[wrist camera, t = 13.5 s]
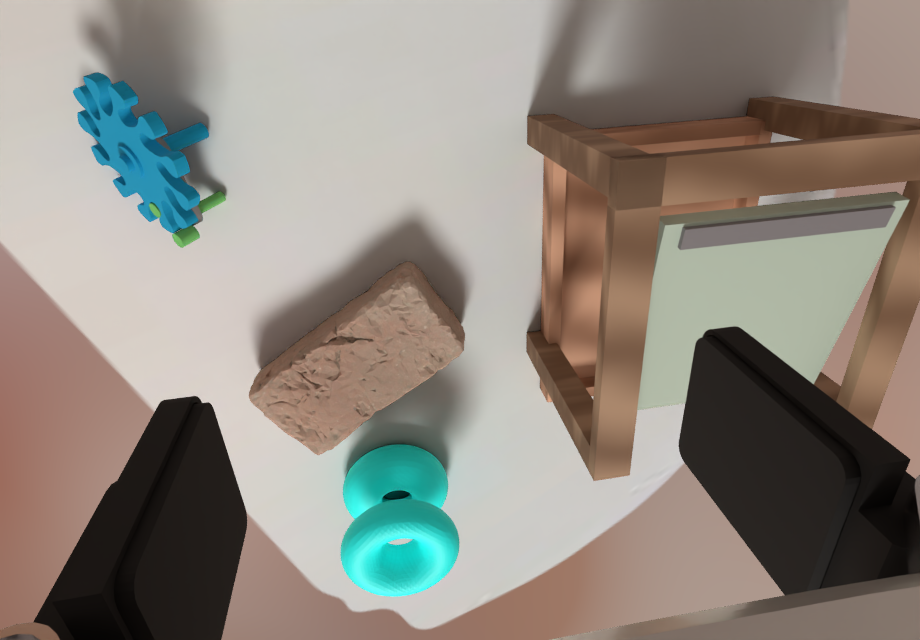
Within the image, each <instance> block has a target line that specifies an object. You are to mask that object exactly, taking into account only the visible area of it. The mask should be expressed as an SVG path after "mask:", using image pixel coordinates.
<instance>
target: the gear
mask: <svg viewBox="0 0 920 640" xmlns="http://www.w3.org/2000/svg"><path fill="white" fill-rule="evenodd" d="M84 82H85V84H86V85H84V86H81V87H78V88H75V89H74V91H73V93H74V95H75V97H76V99H77V100H78V101H79V103H80V104H81V105H82V106H83V107H84V108H85V109H86V110H84V111H81V112H78V122H79V124H80V126H81V127H82V128H83V129H84V130H85V131H86V132H88V133H89V134H91V135H92V136H93V137H94V138H95V139H96V140H97V141H98V142H99V144H97V145H94V146H92V147H91V148H92V151H93V153H94V156H95V158H96V160H97V161H98V162H99V163H100V164H101V165H108V166H111V167H112V168H114V169H115V170H116V171H117V172H119V173H120V174H121V175H122V176H121V177H119V178H116V179H114V180H113V182H114V184H115V186H116V188H117V189H118V190H119V192H120V193H121V195H122V196H123V197H128V196H130V195H132V194H134V193H136V192H137V193H138V194H139V195H140V196H141V197H142V199H143V201H144V202H143V203H141V204H139V205H138V210H139V211H140V213H141V214H142V215H143V216H144V217H145V218H146V219H147V220H148V221H149V222H151V221H153V220H155V219H157V218H159V220H160V223H161V225H162V227H163V228H165V229H166V230H167V231H169V232H171V233H174V234H173V235H172V236H173V239H174V241H175V242H176V244H177V245H178V246H180V247H182V248H183V247H184V246H186V245H188V244H190V243H191V242H193V241H195V240H197V239H198V238H200V235H199V233H198V231H197V229H196V228H195V227H194V225H196V224H198V223H199V222H201V221H202V220H203V217H202V214H201V213H203V212H205V211H207V210H209V209H211V208H212V207H214V206H216V205H218V204H220V203H222V202H224V201H225V200H226V198H225V195H224V194H223V193H222V192H220V191H219V192H217V193H215V194H213V195H211V196H209V197H208V198H206V199H204V200H202V201H200V195H199V193H198V192H197V191H196V190H195V189H194V188H193V187H191V186H190V185H188V184H187V182H186V180H185V178H184V176H183V175H185V174H187V173H189V172H190V168H189V165H188V162H187V159H186V157H185V155H184V154H183V153H182V152H180V151H179V150H181V149H183V148H185V147H188V146H190V145H192V144H194V143H197V142H199V141H201V140H203V139H205V138H208V137H209V133H208V130H207V128H206V127H205V126H204V125H203V124H202V123H198V124H195V125H193V126H191V127H188V128H186V129H183V130H181V131H179V132H176V133H174V134H172V135H169V136H167V137H165V138H162V137H161V136H163V135H165V134H167V133H168V131H167V129H166V127H165V125H164V123H163V121H162V120H161V118H160V117H159V115H158V114H157V112H155V111H153V112H150V113H147V114H145V115H142V116H140V117H139V118H138V120H137V119H136V117H135V116H134V115H133V113H132V110H131V106H134V105H136V104H138V97H137V95H136V94H135V92H134V91H133V90H132V89H131V88H130V87H129V86H128V85H127V84H126V83H125V82H124V81H121V82H118V83H115V84H112V83H111V81H110V80H109V78H108V77H107V76H105V75H103V74H101V73H98V72H97V73H93V74H90V75H87V76H84ZM179 230H180V231H179ZM177 231H178V232H177ZM175 232H176V233H175Z"/></svg>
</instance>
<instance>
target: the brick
mask: <svg viewBox="0 0 920 640" xmlns="http://www.w3.org/2000/svg"><path fill="white" fill-rule="evenodd" d="M454 315H455V314H454V312H453V310H452V309H450V308H449V307H448V306H447V305H445V304H444V302H443V301H442V299H441V298H440V297H438V295H437V293H435V292H434V290H433V288H432V286H431V285H430V284H429V283H428V280H427V278H426V276H425V275H424V274H423V273H422V272H421V271H420V270H419V269H418V267H417V266H416V265H415V264H413V263H411V262H405V263H403V264H399V265H398V266H397V267H396V268H395V269H393V270H391V271H389V272H388V273H386V274H385V275H384V276H383V277H382V278H380V279H379V280H378V281H377V282H376V283H375V284H374V285H372V287H371V288H370V289H369V291H367V292H365V293H364V294H362V295H360V296H358V297H356V298H355V299H353V300H351V301H350V302H349V303H348V304H347V305H346V306H345V307H344V308H343V309H342V310H341V311H339V312H337V313H335V314H333V315H331V316H330V317H329V318H328V319H327V320H326V321H324V322H323V323H321V324H320V325H319V326H318V327H317V328H316V329H315V330H313V331H311V332H309V333H308V334H307V335H305V336H304V337H303V338H301V339H300V341H298V342H296V343H295V344H294V345H293V346H291V347H290V348H289V349H287V350H286V351H285V352H283V353H282V354H281V355H280V356H279V357H278V358H276V359H275V360H274V361H273V362H271V363H269V364H268V365H266V367H265V368H263V369H262V370H261V371H260V372H259V373H258V375H257V376H256V378H255V379H254V381H253V382H254V383H253V385H252V386H251V390H250V392H249V399H250V401H251V402H252V403H253V404H254V405H255V406H256V407H257V408H258V409H260V410H261V411H262V412H263V413H264V415H265V416H266V417H267V418H269V419H270V420H271V421H272V422H274V423H275V424H276V425H277V426H278V427H279V428H281V429H282V430H283V431H284V432H285V433H287V434H288V435H290V436H291V437H293V438H295V439H297V440H298V441H299V442H301V443H302V444H303V445H305V446H306V447H308V448H309V449H310V450H311V451H312V452H314V453H315V454H317V455H320V454H322V453H324V452H326V451H327V450H331V449H333V448H334V447H335V446H337V445H338V444H339V443H340V442H341V441H343V440H344V439H345V438H347V437H348V436H349V435H350V434H351V433H352V432H353V431H355V430H356V429H357V428H358V427H359V426H360V425H361V424H362V423H363V422H365V421H367V420H368V419H369V418H371V417H372V415H373V414H374V413H375V412H376V411H378V410H382V409H383V408H385V407H386V406H388V405H390V404H391V403H393V402H394V401H396V400H398V399H399V398H401V397H402V396H403V395H405V394H406V393H407V392H409V391H411V390H412V389H414V388H415V387H417V386H418V385H420V384H421V383H423V382H424V381H426V380H427V379H429V378H430V377H432V376H433V375H434V374H435V373H436V372H437V371H438V370H441V369H443V368H444V367H446V366H447V365H448V364H449V363H450V362H451V361H452V360H453V359H455V358H457V357H458V356H459V355H460V354H461V353H462V351H463V350H464V340H465V333H464V330H463V327H462V326H461V324H460V323H459V321H458V319H457V318H456V317H455V316H454Z"/></svg>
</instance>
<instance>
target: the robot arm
mask: <svg viewBox="0 0 920 640" xmlns="http://www.w3.org/2000/svg"><path fill="white" fill-rule="evenodd" d="M679 451H680V454H681V457H682V459H683V461H684V462H685V464H686V465H687V466H688V468H689V469H690V470H691V472H692V473H693V474H694V475H695V477H696V478H697V480H698V481H699V482H700V483H701V484H702V486H703V487H704V489H705V490H706V491H707V493H708V494H709V495H710V497H711V498H712V499H713V501H714V502H715V503H716V505H717V506H718V507H719V509H720V510H721V511H722V513H723V514H724V515H725V516H726V518H727V519H728V521H729V522H730V523H731V524H732V526H733V527H734V528H735V530H736V531H737V532H738V534H739V535H740V536H741V538H742V539H743V540H744V541H745V543H746V544H747V546H748V547H749V548H750V549H751V551H752V552H753V554H754V555H755V556H756V558H757V559H758V560H759V562H760V563H761V564H762V566H763V567H764V568H765V570H766V571H767V572H768V573H769V575H770V576H771V577H772V579H773V580H774V581H775V583H776V584H777V585H778V587H779V588H780V589H781V591H782V592H783V593H784V595H785V596H779V597H774V598H769V599H763V600H758V601H752V602H747V603H742V604H737V605H731V606H725V607H720V608H715V609H709V610H704V611H699V612H693V613H688V614H682V615H677V616H672V617H666V618H662V619H656V620H651V621H646V622H640V623H635V624H630V625H625V626H619V627H614V628H609V629H604V630H598V631H593V632H588V633H583V634H578V635H572V636H567V637H561V638H557V639H551V640H920V475H919V476H918V477H917V478H916V479H915V478H913V477H912V476H911V475H910V474H908V473H907V472H906V469H907V467H908V464H909V462H910V459H909V458H908V457H907V456H906V455H904V454H903V453H902V452H900V451H899V450H898V449H896V448H895V447H894V446H893V445H891V444H890V443H889V442H887V441H886V440H884V439H883V438H882V437H881V436H880V435H878V434H877V433H876V432H875V431H873V430H872V429H871V428H869V427H868V426H867V425H865V424H864V423H863V422H862V421H860V420H859V419H858V418H856V417H855V416H854V415H853V414H851V413H850V412H849V411H847V410H846V409H845V408H844V407H842V406H841V405H840V404H838V403H837V402H836V401H835V400H833V399H832V398H831V397H829V396H828V395H827V394H825V393H824V392H823V391H822V390H820V389H819V388H818V387H816V386H815V385H814V384H813V383H811V382H810V381H809V380H807V379H806V378H805V377H804V376H802V375H801V374H800V373H798V372H797V371H796V370H794V369H793V368H792V367H791V366H789V365H788V364H787V363H785V362H784V361H783V360H782V359H780V358H779V357H778V356H776V355H775V354H774V353H773V352H771V351H770V350H769V349H767V348H766V347H765V346H763V345H762V344H761V343H760V342H758V341H757V340H756V339H754V338H753V337H752V336H751V335H749V334H748V333H747V332H745V331H744V330H743V329H741V328H740V327H738V326H732V327H725V328H717V329H709V330H707V331H705V333H704V334H703V337H702V338H699V339H698V340H697V341H696V344H695V349H694V355H693V361H692V367H691V373H690V379H689V385H688V391H687V397H686V403H685V409H684V415H683V421H682V427H681V433H680V439H679ZM246 528H247V514H246V509H245V506H244V503H243V500H242V497H241V493H240V490H239V487H238V484H237V481H236V478H235V475H234V471H233V468H232V465H231V462H230V459H229V456H228V453H227V450H226V446H225V443H224V440H223V437H222V434H221V431H220V428H219V425H218V421H217V418H216V415H215V412H214V409H213V407H212V405H211V404H210V403H202V402H201V400H200V399H199V398H198V397H197V396H192V397H185V398H177V399H169V400H163V401H161V403H160V404H159V405H158V407H157V409H156V411H155V413H154V414H153V416H152V418H151V420H150V422H149V424H148V426H147V427H146V429H145V431H144V433H143V435H142V436H141V438H140V440H139V442H138V444H137V446H136V447H135V449H134V451H133V453H132V455H131V457H130V459H129V460H128V462H127V464H126V466H125V468H124V470H123V471H122V473H121V475H120V477H119V479H118V481H116V482H115V483H113V484H111V486H110V487H109V488H108V490H107V491H106V493H105V494H104V496H103V498H102V500H101V501H100V503H99V505H98V507H97V509H96V511H95V512H94V514H93V516H92V518H91V519H90V521H89V523H88V525H87V527H86V529H85V530H84V532H83V534H82V536H81V537H80V539H79V541H78V543H77V545H76V547H75V548H74V550H73V552H72V554H71V555H70V557H69V559H68V561H67V563H66V565H65V566H64V568H63V570H62V572H61V574H60V575H59V577H58V579H57V581H56V582H55V584H54V586H53V588H52V590H51V591H50V593H49V595H48V597H47V599H46V600H45V602H44V604H43V606H42V608H41V609H40V611H39V613H38V615H37V617H36V618H35V620H34V622H33V623H23V624H16V625H13V626H10V627H7V628H4V629H1V630H0V640H221V638H222V634H223V629H224V625H225V621H226V616H227V612H228V607H229V603H230V599H231V595H232V590H233V586H234V582H235V577H236V573H237V569H238V564H239V559H240V555H241V551H242V547H243V542H244V538H245V534H246Z"/></svg>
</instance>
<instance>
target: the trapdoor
mask: <svg viewBox="0 0 920 640" xmlns="http://www.w3.org/2000/svg"><path fill="white" fill-rule="evenodd" d="M909 201H910V199H908V198H906V197H904V196H903V195H901V194H899V193H897V192H888V193H878V194H870V195H860V196H850V197H840V198H830V199H820V200H811V201H801V202H791V203H782V204H772V205H762V206H753V207H743V208H733V209H724V210H714V211H704V212H695V213H685V214H675V215H666V216H660V221H659V230H658V238H657V246H656V255H655V263H654V272H653V280H652V289H651V297H650V306H649V314H648V323H647V331H646V340H645V348H644V357H643V365H642V373H641V382H640V390H639V399H638V407H637V410H642V409H649V408H655V407H662V406H669V405H676V404H683V403H686V397H687V391H688V385H689V379H690V373H691V367H692V361H693V355H694V349H695V344H696V341H697V340H698V339H699V338H702V337H703V334H704V333H705V331H707V330H709V329H717V328H725V327H732V326H738V327H740V328H741V329H743V330H744V331H745V332H747V333H748V334H749V335H751V336H752V337H753V338H754V339H756V340H757V341H758V342H760V343H761V344H762V345H763V346H765V347H766V348H767V349H769V350H770V351H771V352H773V353H774V354H775V355H776V356H778V357H779V358H780V359H782V360H783V361H784V362H785V363H787V364H788V365H789V366H791V367H792V368H793V369H794V370H796V371H797V372H798V373H800V374H801V375H802V376H804V377H805V378H806V379H807V380H809V381H810V382H811V383H813V384H814V383H815V381H816V379H817V377H818V375H819V373H820V371H821V369H822V367H823V365H824V364H825V361H826V360H827V358H828V356H829V354H830V352H831V350H832V348H833V346H834V344H835V343H836V341H837V339H838V337H839V335H840V333H841V331H842V329H843V327H844V325H845V323H846V321H847V320H848V318H849V315H850V314H851V312H852V310H853V308H854V306H855V304H856V302H857V300H858V298H859V296H860V295H861V293H862V291H863V289H864V287H865V285H866V283H867V281H868V279H869V277H870V275H871V273H872V271H873V270H874V268H875V266H876V264H877V262H878V260H879V258H880V256H881V254H882V252H883V250H884V249H885V247H886V245H887V243H888V241H889V239H890V237H891V235H892V233H893V231H894V229H895V228H896V226H897V224H898V222H899V220H900V218H901V216H902V214H903V212H904V210H905V208H906V206H907V205H908V203H909Z"/></svg>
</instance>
